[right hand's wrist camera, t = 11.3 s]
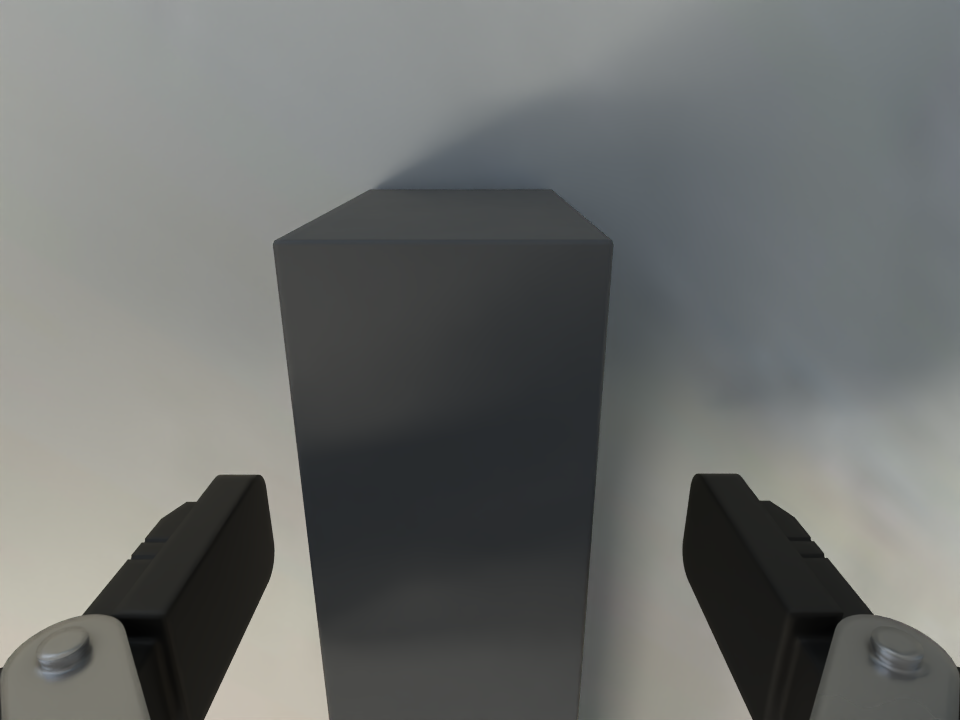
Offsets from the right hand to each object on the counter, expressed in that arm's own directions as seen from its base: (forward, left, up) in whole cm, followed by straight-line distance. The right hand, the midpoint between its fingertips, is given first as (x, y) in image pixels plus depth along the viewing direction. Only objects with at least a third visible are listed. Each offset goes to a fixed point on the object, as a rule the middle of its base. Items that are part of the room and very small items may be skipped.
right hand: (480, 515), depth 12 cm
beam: (-17, -28, -4) cm, 33 cm away
